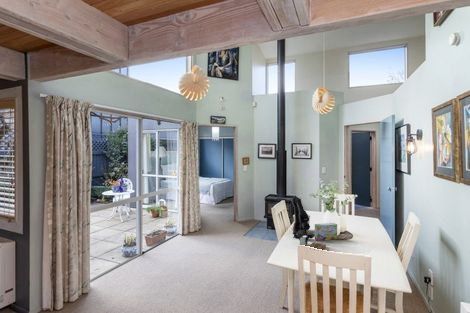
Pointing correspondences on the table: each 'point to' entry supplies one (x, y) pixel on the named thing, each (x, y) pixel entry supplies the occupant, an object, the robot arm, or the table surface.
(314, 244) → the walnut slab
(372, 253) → the table surface
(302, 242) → the sage box
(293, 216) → the canister
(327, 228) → the snack box
